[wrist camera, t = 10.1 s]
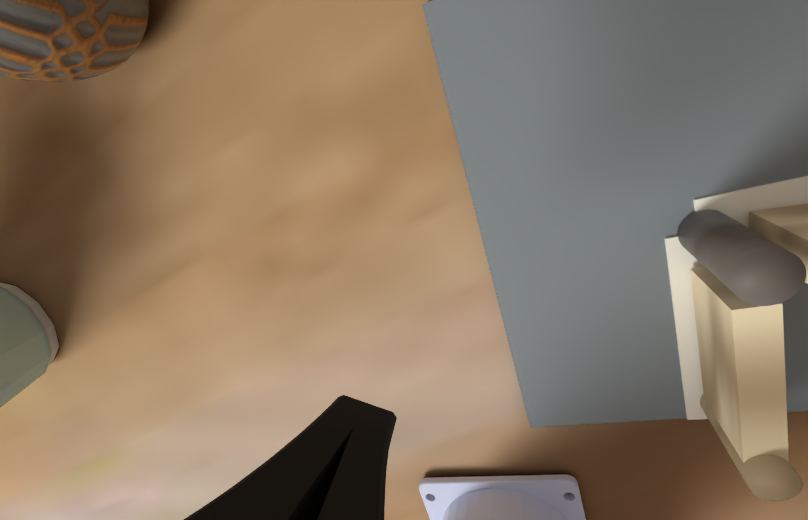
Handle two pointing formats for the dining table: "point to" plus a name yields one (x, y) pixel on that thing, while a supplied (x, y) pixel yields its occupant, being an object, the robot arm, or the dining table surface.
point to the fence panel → (784, 228)
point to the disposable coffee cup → (23, 341)
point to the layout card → (621, 180)
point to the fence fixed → (744, 344)
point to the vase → (68, 37)
